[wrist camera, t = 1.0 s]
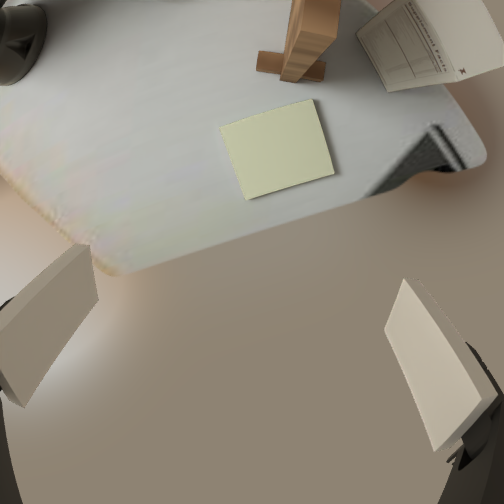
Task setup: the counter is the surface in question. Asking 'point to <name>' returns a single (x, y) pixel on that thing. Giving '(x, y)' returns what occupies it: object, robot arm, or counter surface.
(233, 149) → the sticky note pad
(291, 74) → the screen
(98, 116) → the counter surface
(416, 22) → the supplement box
